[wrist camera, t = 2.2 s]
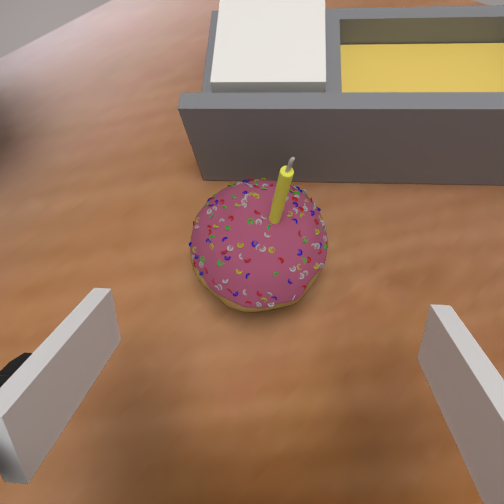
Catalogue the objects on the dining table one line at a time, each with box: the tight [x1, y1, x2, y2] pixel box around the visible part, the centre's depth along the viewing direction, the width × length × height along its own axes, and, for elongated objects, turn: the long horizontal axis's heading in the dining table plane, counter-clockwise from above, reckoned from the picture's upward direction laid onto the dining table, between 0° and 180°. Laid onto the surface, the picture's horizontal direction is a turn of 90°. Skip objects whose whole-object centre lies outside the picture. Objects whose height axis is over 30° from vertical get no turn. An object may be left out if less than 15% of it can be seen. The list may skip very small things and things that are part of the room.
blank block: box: [210, 0, 326, 93], centre depth 27 cm, size 7×10×7 cm
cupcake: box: [189, 157, 328, 312], centre depth 21 cm, size 9×8×12 cm
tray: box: [178, 5, 504, 185], centre depth 27 cm, size 26×14×8 cm, turn 87°
